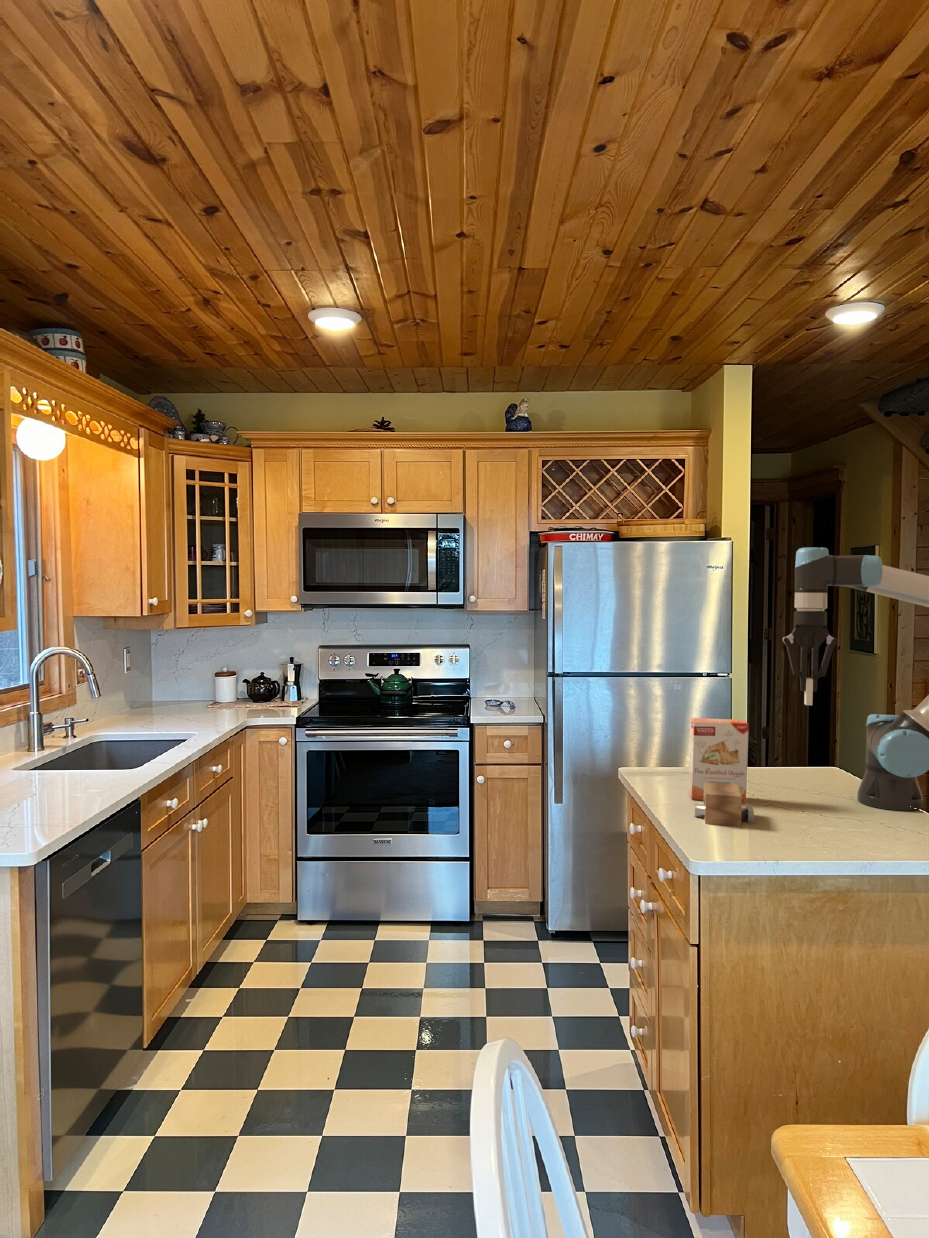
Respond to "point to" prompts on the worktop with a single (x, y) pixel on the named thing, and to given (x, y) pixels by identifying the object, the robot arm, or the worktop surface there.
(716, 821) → the block
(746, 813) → the pin
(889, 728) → the robot arm
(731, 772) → the cracker box
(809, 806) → the worktop surface
